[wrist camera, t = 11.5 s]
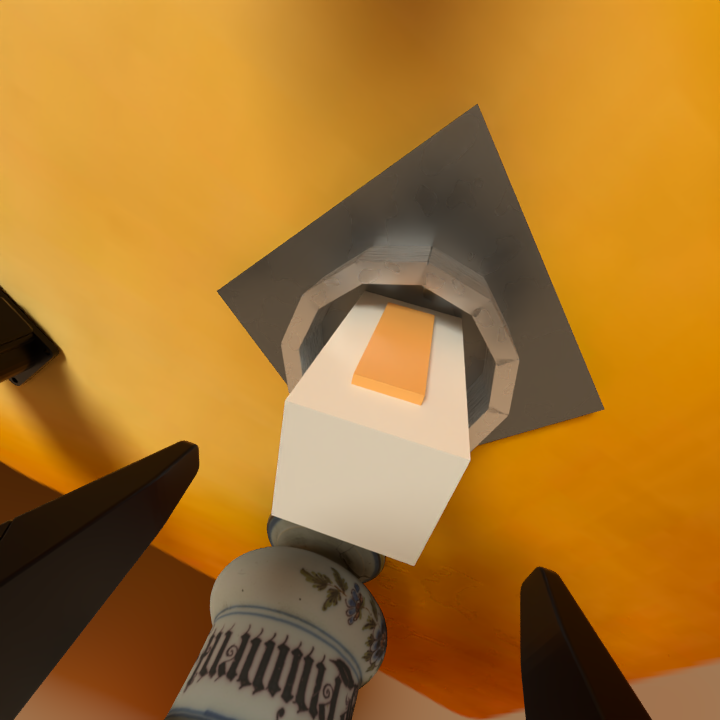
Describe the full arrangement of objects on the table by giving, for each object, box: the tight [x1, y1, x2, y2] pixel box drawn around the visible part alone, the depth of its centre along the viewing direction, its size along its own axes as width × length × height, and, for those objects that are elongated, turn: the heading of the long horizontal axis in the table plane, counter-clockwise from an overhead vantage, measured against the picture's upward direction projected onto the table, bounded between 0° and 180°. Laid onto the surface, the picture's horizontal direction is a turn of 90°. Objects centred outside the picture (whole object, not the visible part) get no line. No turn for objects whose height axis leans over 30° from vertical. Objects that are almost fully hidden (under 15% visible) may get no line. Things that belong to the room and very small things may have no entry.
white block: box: [271, 291, 470, 566], centre depth 13 cm, size 5×5×9 cm
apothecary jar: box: [164, 513, 387, 720], centre depth 20 cm, size 12×12×18 cm
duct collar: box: [217, 104, 604, 452], centre depth 16 cm, size 14×14×4 cm
